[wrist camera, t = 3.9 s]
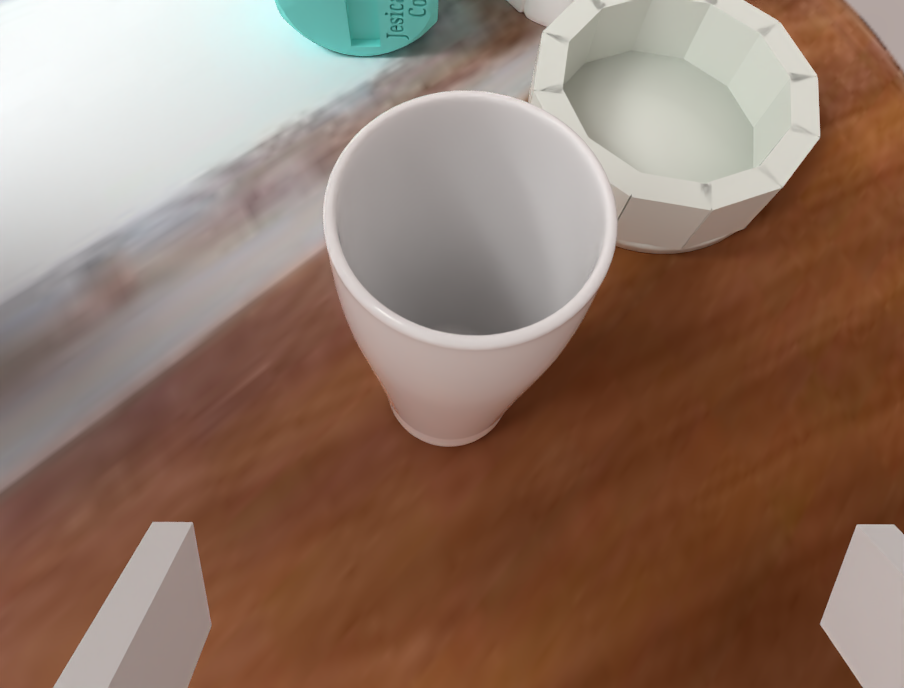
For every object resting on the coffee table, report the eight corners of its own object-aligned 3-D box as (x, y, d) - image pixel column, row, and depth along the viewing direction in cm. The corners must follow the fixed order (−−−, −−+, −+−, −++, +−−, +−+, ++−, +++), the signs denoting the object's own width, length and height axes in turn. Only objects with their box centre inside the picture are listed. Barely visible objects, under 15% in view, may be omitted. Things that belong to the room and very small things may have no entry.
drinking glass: (502, 486, 27) (590, 390, 13) (350, 440, 27) (270, 299, 13) (539, 342, 29) (647, 124, 15) (398, 302, 29) (374, 54, 15)
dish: (507, 229, 31) (519, 178, 27) (538, 28, 35) (553, -41, 31) (771, 274, 31) (824, 229, 27) (769, 66, 35) (814, 0, 31)
